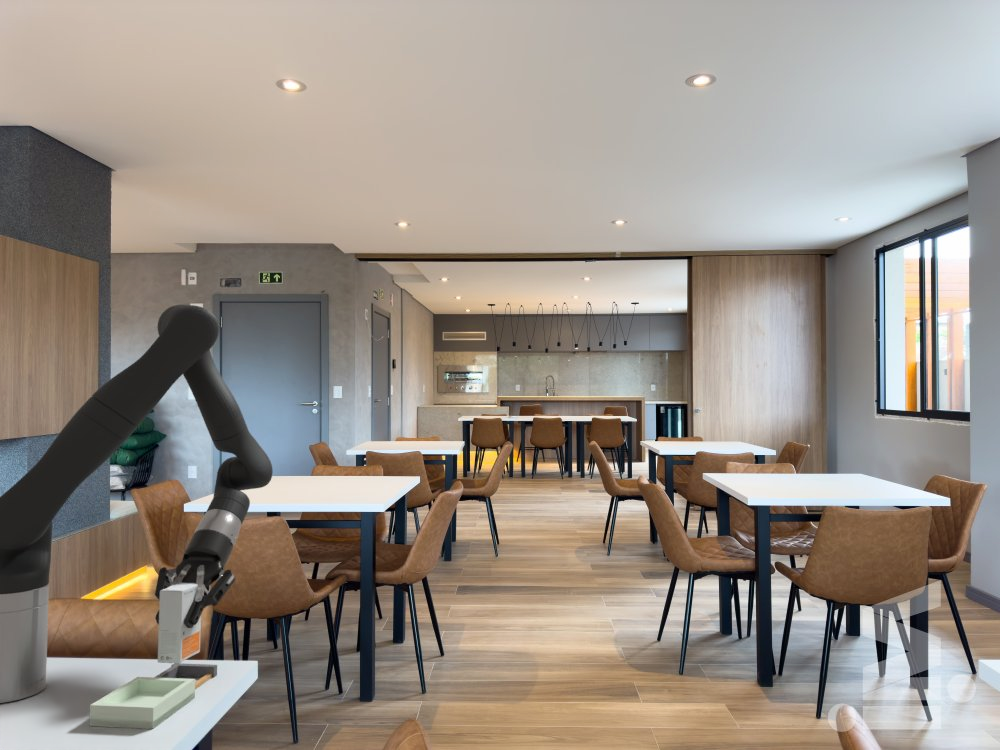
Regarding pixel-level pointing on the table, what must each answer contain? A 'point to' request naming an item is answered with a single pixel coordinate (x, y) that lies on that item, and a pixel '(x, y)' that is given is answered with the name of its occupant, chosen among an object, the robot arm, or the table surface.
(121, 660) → the table surface
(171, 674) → the grey shallow square tray
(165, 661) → the skincare box
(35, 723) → the table surface
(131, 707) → the parts tray
